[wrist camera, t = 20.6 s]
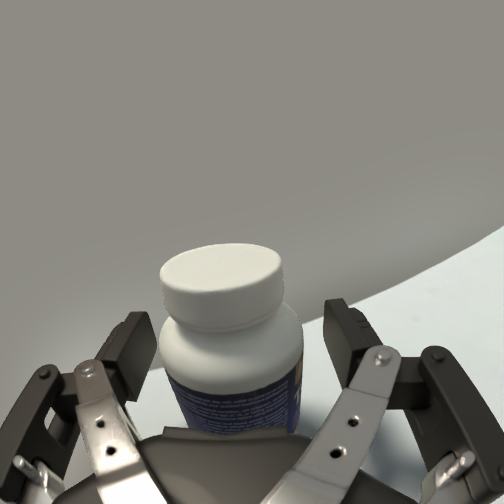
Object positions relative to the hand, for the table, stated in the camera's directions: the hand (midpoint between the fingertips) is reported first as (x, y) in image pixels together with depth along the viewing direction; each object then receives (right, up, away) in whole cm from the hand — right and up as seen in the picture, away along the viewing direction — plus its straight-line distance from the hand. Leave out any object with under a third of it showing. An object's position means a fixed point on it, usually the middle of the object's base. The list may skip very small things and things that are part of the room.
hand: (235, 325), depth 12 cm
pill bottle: (0, -6, 0) cm, 6 cm away
